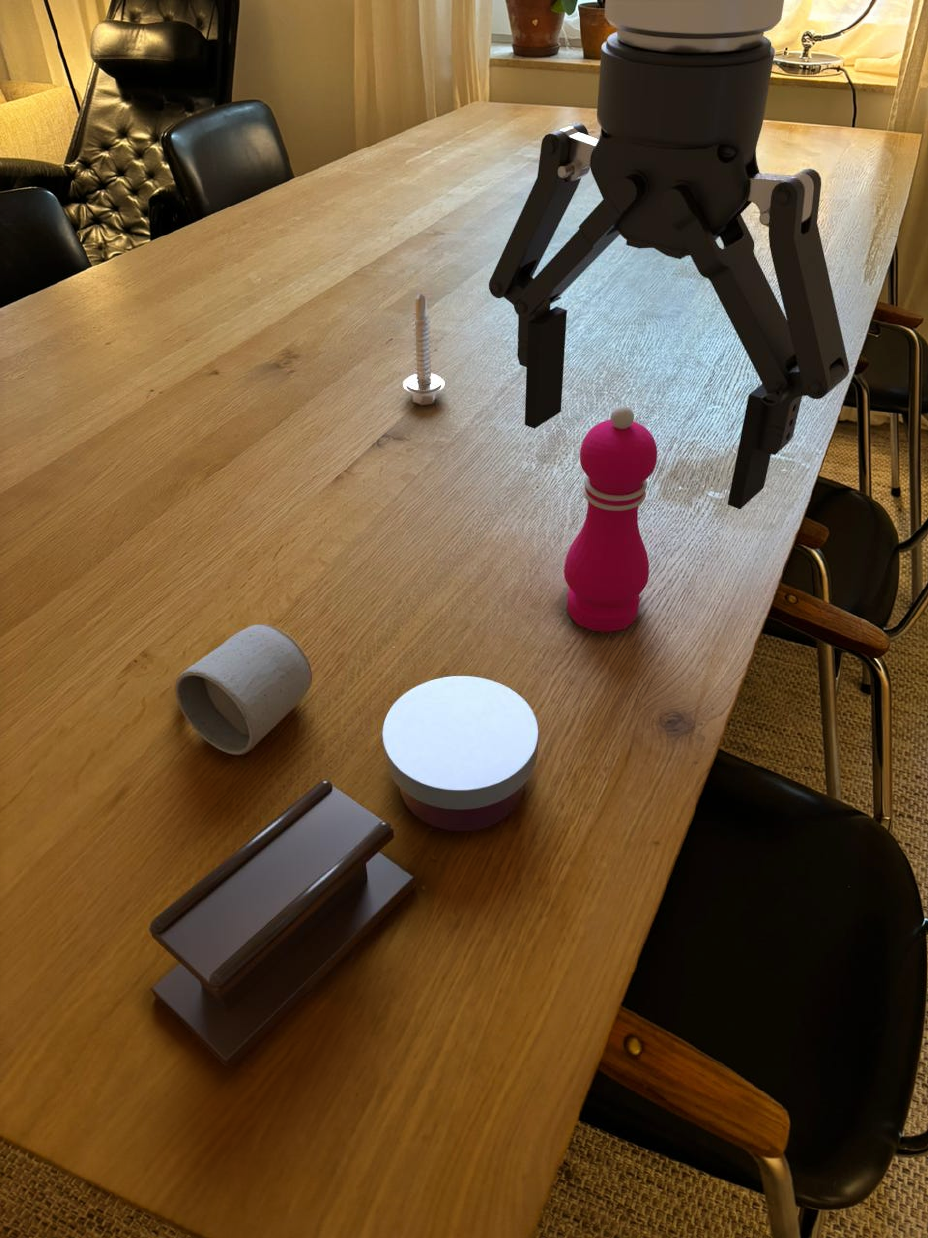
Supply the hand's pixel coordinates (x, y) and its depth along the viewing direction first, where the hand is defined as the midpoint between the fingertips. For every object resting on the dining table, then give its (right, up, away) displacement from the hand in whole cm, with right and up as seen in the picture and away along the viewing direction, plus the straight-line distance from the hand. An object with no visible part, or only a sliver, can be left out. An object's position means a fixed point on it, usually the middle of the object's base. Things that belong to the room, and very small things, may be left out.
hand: (638, 455), depth 57 cm
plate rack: (-21, -30, +6) cm, 37 cm away
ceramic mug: (-28, -17, +22) cm, 39 cm away
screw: (-15, +16, +61) cm, 65 cm away
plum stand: (-10, -21, +16) cm, 29 cm away
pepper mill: (+2, -9, +31) cm, 32 cm away
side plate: (-10, -19, +14) cm, 26 cm away
